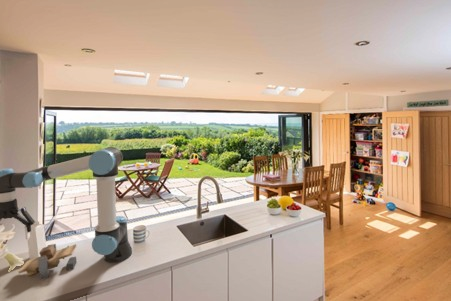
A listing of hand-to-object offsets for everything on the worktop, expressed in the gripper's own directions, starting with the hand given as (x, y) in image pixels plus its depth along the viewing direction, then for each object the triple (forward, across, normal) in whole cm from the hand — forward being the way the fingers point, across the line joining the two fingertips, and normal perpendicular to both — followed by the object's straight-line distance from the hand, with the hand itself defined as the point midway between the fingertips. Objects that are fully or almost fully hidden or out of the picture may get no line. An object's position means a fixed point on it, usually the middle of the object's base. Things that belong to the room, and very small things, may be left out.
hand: (11, 240), depth 126 cm
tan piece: (+17, -16, 0) cm, 24 cm away
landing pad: (+19, -25, 0) cm, 32 cm away
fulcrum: (+20, -15, 0) cm, 24 cm away
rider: (+12, -15, 0) cm, 19 cm away
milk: (+20, -4, -18) cm, 27 cm away
